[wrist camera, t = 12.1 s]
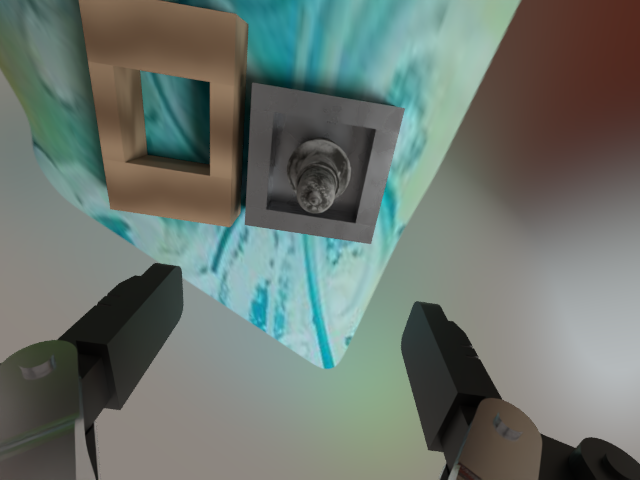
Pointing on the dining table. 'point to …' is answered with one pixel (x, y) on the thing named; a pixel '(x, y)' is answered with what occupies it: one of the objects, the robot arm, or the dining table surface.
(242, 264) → the dining table surface
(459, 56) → the dining table surface
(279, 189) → the seat block
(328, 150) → the chess piece
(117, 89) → the wooden rectangular frame
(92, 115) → the dining table surface
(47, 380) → the robot arm
